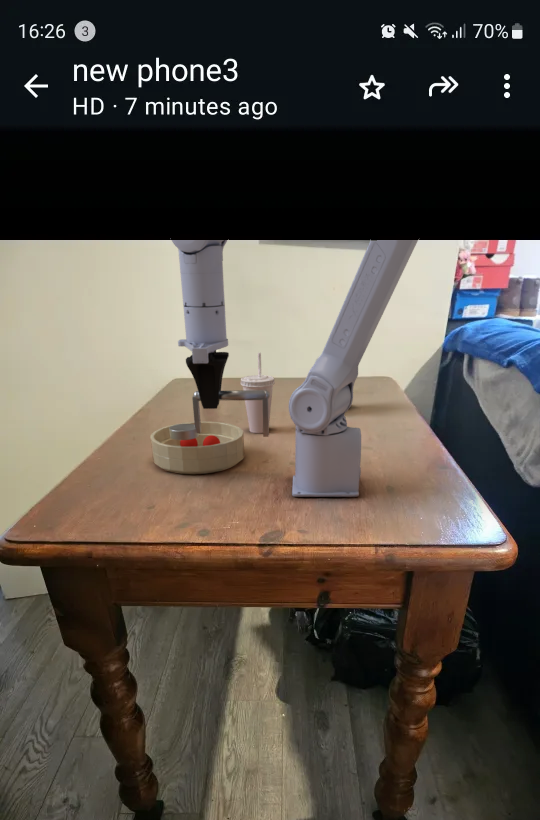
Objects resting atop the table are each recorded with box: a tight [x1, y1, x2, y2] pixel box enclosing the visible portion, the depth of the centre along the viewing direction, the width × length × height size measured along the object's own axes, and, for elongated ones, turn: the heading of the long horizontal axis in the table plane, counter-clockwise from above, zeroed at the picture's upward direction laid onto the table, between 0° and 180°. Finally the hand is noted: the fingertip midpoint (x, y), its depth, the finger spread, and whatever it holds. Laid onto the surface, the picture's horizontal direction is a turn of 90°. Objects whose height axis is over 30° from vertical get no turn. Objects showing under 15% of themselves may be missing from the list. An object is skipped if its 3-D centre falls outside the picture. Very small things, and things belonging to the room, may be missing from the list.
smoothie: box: [240, 352, 276, 434], centre depth 110 cm, size 6×6×14 cm
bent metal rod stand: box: [169, 389, 270, 440], centre depth 88 cm, size 16×4×7 cm, turn 88°
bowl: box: [149, 421, 245, 475], centre depth 97 cm, size 15×15×4 cm
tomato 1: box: [180, 438, 198, 447], centre depth 99 cm, size 3×3×3 cm
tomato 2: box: [203, 435, 220, 446], centre depth 99 cm, size 3×3×3 cm
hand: (211, 406), depth 87 cm, fingers closed on bent metal rod stand
